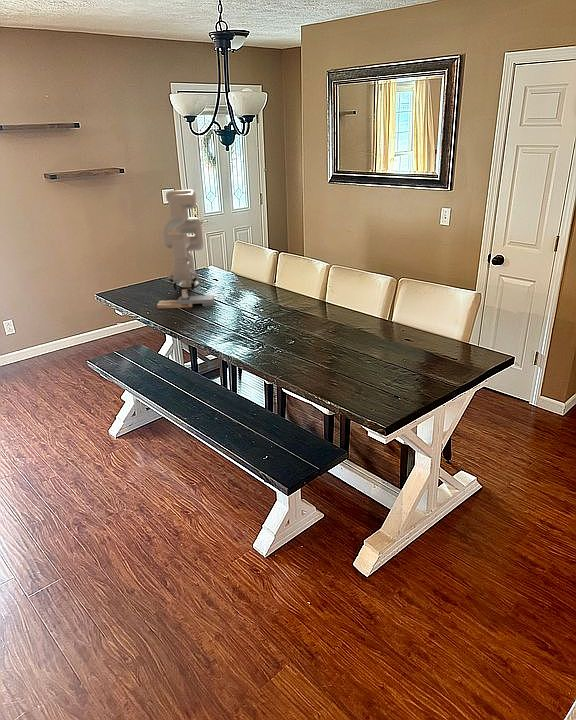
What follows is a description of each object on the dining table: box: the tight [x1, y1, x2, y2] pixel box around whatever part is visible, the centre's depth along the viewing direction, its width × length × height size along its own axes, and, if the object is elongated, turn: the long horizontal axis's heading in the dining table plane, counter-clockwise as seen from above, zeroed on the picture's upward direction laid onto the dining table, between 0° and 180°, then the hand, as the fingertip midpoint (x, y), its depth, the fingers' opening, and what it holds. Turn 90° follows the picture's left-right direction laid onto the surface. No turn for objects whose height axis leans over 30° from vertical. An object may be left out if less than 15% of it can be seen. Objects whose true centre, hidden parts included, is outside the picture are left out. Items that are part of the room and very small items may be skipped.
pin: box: [180, 288, 189, 300], centre depth 313 cm, size 3×3×9 cm
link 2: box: [177, 294, 215, 307], centre depth 314 cm, size 8×20×4 cm, turn 92°
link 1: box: [156, 299, 194, 310], centre depth 314 cm, size 8×20×2 cm, turn 91°
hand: (184, 289), depth 311 cm, fingers open, 9 cm apart
